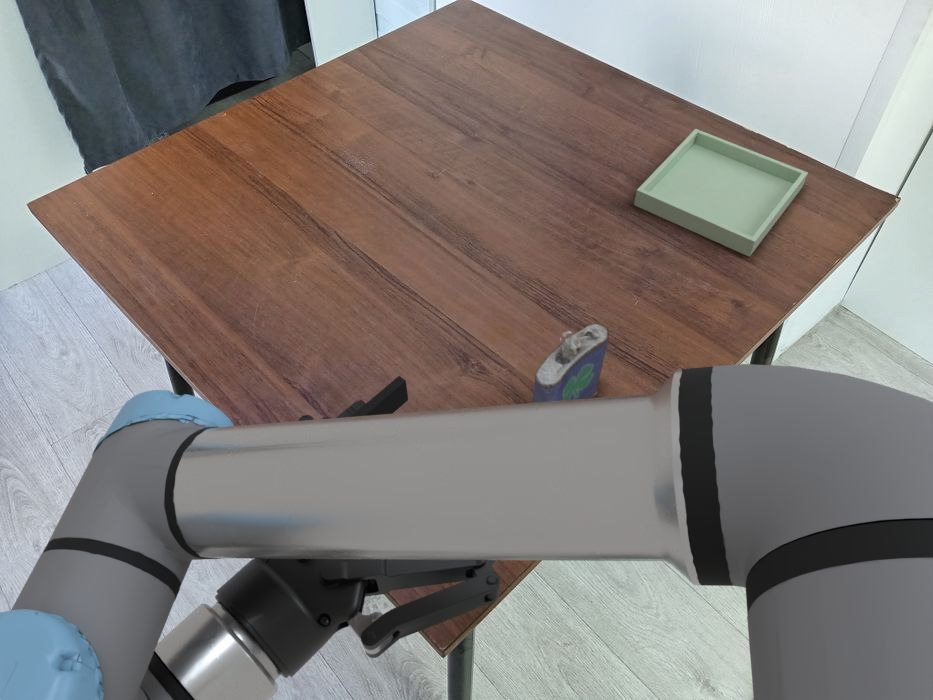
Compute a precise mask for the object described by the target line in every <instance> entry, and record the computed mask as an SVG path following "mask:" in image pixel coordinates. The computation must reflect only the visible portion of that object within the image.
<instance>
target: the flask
mask: <svg viewBox="0 0 933 700" xmlns="http://www.w3.org/2000/svg"><path fill="white" fill-rule="evenodd" d="M609 331H610V330H609V329H608V328H607V327H605V326H603V325H601V324H596V323H593V324H589V325H587V326H586V327H584V328H582V329H581V330H579V331H577V332H575V333H574V334H573V333H572V331H571V330H566V331H565V332H562V334H561V337H560V338H559V342H561V341H562V338H565V339H564V340H563V341H562V342H561V343H560V344H559V345H558V346H556V348H555V349H554V350H552V351H551V352H550V354H549V355H548V356H547V357H546V358H545V360H544V361H543V362H542V363H541V365H540V366H539V367H538V369H537V370H536V372H535V375H534V388H533V397H532V400H533V401H532V403H538V402H551V401H564V400H577V399H590V398H594V396H595V395H596V394H597V393H598V388H599V381H600V377H601V372H602V368H603V364H604V360H605V354H606V351H607V346H608V344H609V339H610V332H609Z"/></svg>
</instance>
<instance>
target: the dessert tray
mask: <svg viewBox="0 0 933 700" xmlns="http://www.w3.org/2000/svg"><path fill="white" fill-rule="evenodd" d="M808 174H809V172H808V171H805V170H802V169H800V168H797V167H794V166H792V165H790V164H788V163H785V162H782V161H780V160H777V159H774V158H772V157H769V156H766V155H764V154H761V153H759V152H756V151H754V150H751V149H749V148H747V147H743V146H741V145H739V144H736V143H734V142H731V141H728V140H726V139H723V138H720V137H718V136H716V135H713V134H710V133H708V132H705V131H703V130H699V129H698V128H694V130H692V132H691V133H689V135H688V136H687V137H686V138H685V139H684V140H683V141H681V143H679V145H678V146H677V147H676V149H674V151H672V153H670V155H668V157H666V159H665V160H664V161H663V162H662V163H661V164H660V165H659V166H658V167H657V168H656V169H655V170H654V171H653V172H652V173H651V174H650V175H649V177H648V178H646V180H645V181H643V183H642V184H641V185H640V186H639V187H638V188H637V189H636V192H635V197H634V201H633V206H635V207H637V208H640V209H641V210H644V211H646V212H648V213H651V214H653V215H655V216H657V217H659V218H661V219H664V220H666V221H668V222H671V223H673V224H675V225H678V226H679V227H682V228H683V229H686V230H688V231H690V232H693V233H695V234H698V235H699V236H701V237H704V238H706V239H708V240H711V241H713V242H715V243H718V244H719V245H722V246H725V247H726V248H728V249H730V250H733V251H735V252H738V253H739V254H742V255H744V256H746V257H749V258H750V257H751V256H752V254H753V253H754V252H755V250H756V249H757V248H758V246H760V244H761V242H763V240H764V239H765V237H766V236H767V234H769V232H770V231H771V229H772V228H773V227H774V226H775V224H776V223H777V222H778V220H779V219H780V218H781V216H782V215H783V214H784V213H785V211H786V210H787V208H788V207H789V206H790V204H791V203H792V202H793V201H794V199H795V198H796V197H797V195H798V194H799V193H800V191H801V190H802V189H803V187H804V184H805V182H806V180H807V176H808Z"/></svg>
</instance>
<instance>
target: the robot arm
mask: <svg viewBox="0 0 933 700" xmlns="http://www.w3.org/2000/svg"><path fill="white" fill-rule="evenodd" d="M407 386H408V385H407V380H406V379H404V378H403V377H402V376H401V375H398V376H397V377H396V378H395V379H393V380H392V381H391V382H389V384H388V385H386V386H385V387H384V388H382V389H381V390H380V391H379V392H378V393H376V394H375V395H374V396H373V397H372V398H371V399H369V400H368V401H367V402H365V401H364V400H363V399H360V400H356V401H354V402H353V403H351V405H349V406H348V407H347V408H346V409H345V410H344V411H342V412H341V413H340V414H339V415H338V416H336V417H332V418H331V417H330V416H325V417H322V418H319V419H314V417H313V416H312V415H310V414H304V415H302V416H301V417H299V418H298V420H294V421H281V422H280V421H279V422H269V423H266V422H265V423H255V424H242V425H234V423H233V421H232V420H231V419H230V418H229V416H227V415H226V413H224V412H223V411H222V410H221V409H220V408H218V407H217V406H215V405H214V404H212V403H211V402H208V401H207V400H204V399H203V398H199V397H197V396H195V395H191V394H187V393H185V394H182V395H179V394H177V393H174V392H173V391H171V390H168V389H167V390H166V389H153V390H147V391H142V392H140V393H137V394H135V395H134V396H132V397H131V398H129V400H127V401H126V402H125V403H124V404H123V406H122V407H121V408H120V410H119V411H118V413H117V415H116V416H115V417H114V419H113V421H112V423H111V424H110V426H109V427H108V429H107V430H106V432H105V434H103V436H101V437H100V438H99V440H98V441H97V442H96V445H95V447H94V450H93V451H92V453H91V454H92V455H91V458H90V460H89V462H88V464H87V466H86V468H85V470H84V471H83V474H82V475H81V478H80V480H79V481H78V484H77V485H76V487H75V489H74V491H73V493H72V495H71V497H70V499H69V501H68V503H67V505H66V506H65V508H64V510H63V513H62V515H61V517H60V519H59V520H58V522H57V524H56V526H55V528H54V530H53V532H52V534H51V536H50V538H49V540H48V542H47V544H46V546H45V547H44V549H43V551H42V553H41V554H40V556H39V557H38V559H37V561H36V563H35V565H34V567H33V568H32V571H31V573H30V574H29V575H28V578H27V579H26V582H25V584H24V585H23V587H22V588H21V591H20V593H19V594H18V596H17V598H16V601H15V602H14V604H13V606H12V607H11V610H5V611H1V612H0V700H270V699H271V698H273V696H275V694H276V693H277V692H278V683H277V682H276V680H277V679H278V678H279V677H280V676H282V677H283V678H285V679H287V678H289V677H290V678H293V677H294V676H295V675H296V674H297V673H298V672H299V671H300V670H301V669H302V668H303V667H304V666H305V665H306V664H307V663H308V662H309V661H310V660H311V659H313V657H314V656H315V655H316V654H317V653H318V652H319V651H321V649H322V648H323V647H324V646H325V645H326V644H327V643H328V642H329V641H330V639H331V638H332V637H333V636H334V635H336V633H337V632H339V631H341V630H343V629H346V628H348V627H349V628H350V630H351V631H352V632H353V633H354V635H355V636H356V637H357V639H358V640H359V641H360V643H361V644H362V647H363V650H364V653H365V655H366V656H368V657H369V658H370V659H376V658H379V657H380V656H381V655H383V653H385V652H386V651H387V650H388V649H390V648H391V647H392V646H393V645H395V643H397V642H398V641H399V640H400V639H403V638H406V637H408V636H411V635H413V634H415V633H418V632H422V631H424V630H426V629H429V628H431V627H434V626H437V625H440V624H442V623H444V622H447V621H449V620H452V619H455V618H457V617H459V616H462V615H464V614H467V613H470V612H473V611H475V610H477V609H480V608H483V607H486V606H488V605H490V604H493V603H495V602H497V601H498V600H499V599H500V594H501V577H500V575H499V574H498V573H496V571H495V570H494V567H493V565H494V564H495V563H496V562H497V561H558V562H559V561H566V562H567V561H568V562H569V561H570V562H571V561H573V562H577V561H578V562H579V561H581V562H582V561H584V562H587V561H588V562H665V563H667V564H669V565H671V566H672V567H673V568H675V569H676V570H677V571H678V572H679V573H680V574H681V575H682V576H684V577H685V578H686V580H688V581H689V582H690V583H691V584H692V585H694V586H705V587H707V586H709V587H711V586H713V587H715V586H718V587H719V586H721V587H740V588H744V589H745V597H746V599H745V600H746V619H747V620H746V621H747V631H748V632H747V633H748V644H749V645H748V647H749V657H750V670H751V682H752V693H753V694H752V695H753V700H933V401H930V400H928V399H926V398H924V397H922V396H918V395H915V394H912V393H908V392H905V391H902V390H900V389H897V388H895V387H894V388H893V387H891V386H888V385H885V384H881V383H878V382H874V381H871V380H866V379H864V378H863V379H862V378H860V377H855V376H852V375H848V374H845V373H837V372H831V371H825V370H819V369H813V368H807V367H799V366H793V365H791V366H790V365H772V364H771V365H770V364H768V365H767V364H754V363H753V364H751V363H741V364H740V363H739V364H726V365H725V364H722V365H713V366H701V367H689V368H678V369H675V370H674V371H673V372H672V374H670V376H669V377H668V378H667V379H666V380H665V381H664V382H663V384H661V386H660V387H659V388H658V389H657V390H655V391H653V392H652V393H644V394H631V395H618V396H605V397H604V396H603V397H591V398H590V399H577V400H564V401H551V402H538V403H533V402H526V403H514V404H501V405H490V406H489V405H488V406H476V407H475V406H473V407H463V408H462V407H461V408H449V409H448V408H447V409H436V410H424V411H423V410H422V411H411V412H409V411H408V412H398V413H395V412H397V410H399V408H401V407H402V406H404V404H405V403H407V402H408V401H409V395H408V387H407ZM219 559H220V560H221V559H252V560H250V561H248V562H247V563H246V564H245V565H244V566H243V567H242V568H241V569H239V570H238V571H237V572H236V573H235V574H234V575H233V576H231V577H230V578H229V579H228V580H227V581H225V583H224V584H223V585H221V586H220V587H219V588H218V589H216V593H217V594H216V595H215V596H214V598H215V600H216V602H215V603H214V604H213V605H212V606H210V605H209V604H208V603H200V605H199V606H197V607H196V608H195V609H194V610H192V611H191V613H190V614H188V615H187V616H186V617H185V618H184V619H183V620H181V621H180V623H179V624H177V625H176V626H175V627H174V628H172V630H170V631H169V632H168V633H167V634H166V635H165V636H164V637H163V638H161V635H162V634H163V631H164V629H165V626H166V623H167V621H168V618H169V616H170V614H171V611H172V608H173V606H174V603H175V602H176V600H177V597H178V595H179V592H180V590H181V587H182V584H183V582H184V579H185V578H186V575H187V573H188V570H189V569H190V566H191V563H192V561H193V560H194V561H201V560H219ZM450 583H451V584H452V583H456V584H453V585H450V586H449V587H446V588H443V589H440V590H438V591H435V592H433V593H430V594H427V595H424V596H422V597H420V598H417V599H414V600H411V601H409V602H406V603H404V604H401V605H398V606H396V607H393V608H391V609H390V610H388V611H385V612H384V613H382V612H379V611H375V612H372V613H370V614H367V615H366V614H363V610H364V604H365V599H366V597H374V596H380V595H387V594H389V593H391V592H392V591H398V590H405V589H412V588H422V587H427V586H435V585H444V584H450Z"/></svg>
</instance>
